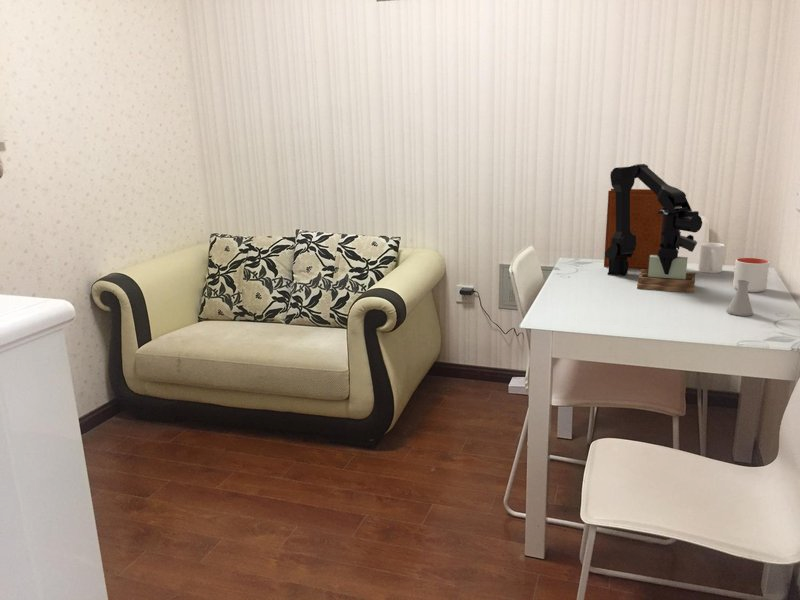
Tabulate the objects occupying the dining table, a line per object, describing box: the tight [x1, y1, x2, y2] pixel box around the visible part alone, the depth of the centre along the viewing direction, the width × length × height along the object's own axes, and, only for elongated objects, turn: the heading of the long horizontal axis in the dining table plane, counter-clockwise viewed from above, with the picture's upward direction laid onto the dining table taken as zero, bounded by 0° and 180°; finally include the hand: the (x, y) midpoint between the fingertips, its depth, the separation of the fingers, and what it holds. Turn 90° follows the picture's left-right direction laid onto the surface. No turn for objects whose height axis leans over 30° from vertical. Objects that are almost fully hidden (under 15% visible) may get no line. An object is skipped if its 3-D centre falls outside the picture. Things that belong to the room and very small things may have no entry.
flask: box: [726, 280, 754, 317], centre depth 198 cm, size 7×7×10 cm
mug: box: [698, 242, 726, 274], centre depth 251 cm, size 12×8×10 cm
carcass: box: [636, 269, 697, 294], centre depth 231 cm, size 18×11×4 cm, turn 66°
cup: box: [732, 257, 770, 293], centre depth 225 cm, size 10×10×10 cm
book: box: [603, 188, 663, 270], centre depth 260 cm, size 23×8×30 cm, turn 67°
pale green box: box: [648, 255, 689, 279], centre depth 230 cm, size 12×4×7 cm, turn 66°
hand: (666, 273), depth 230 cm, fingers closed on pale green box, 3 cm apart
